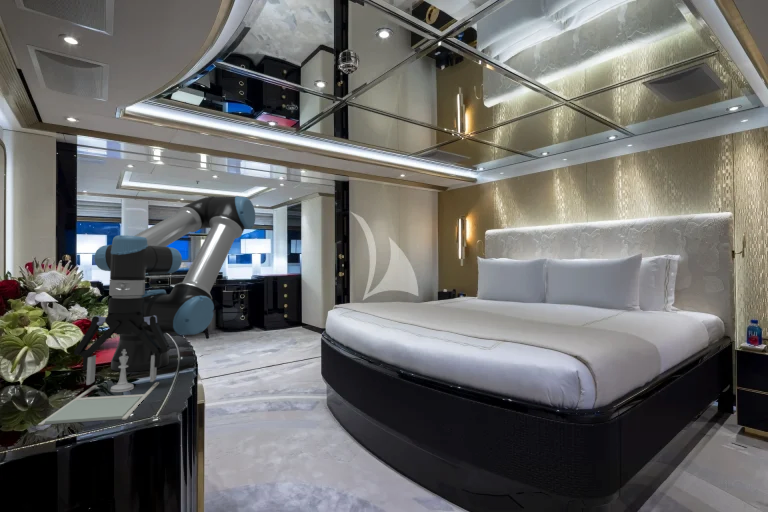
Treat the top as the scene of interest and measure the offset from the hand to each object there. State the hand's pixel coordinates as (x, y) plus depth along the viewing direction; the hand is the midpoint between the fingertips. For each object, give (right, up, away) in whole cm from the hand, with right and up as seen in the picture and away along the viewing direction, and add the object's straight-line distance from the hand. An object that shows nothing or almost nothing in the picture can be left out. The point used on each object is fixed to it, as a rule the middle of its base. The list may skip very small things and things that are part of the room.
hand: (122, 381), depth 97 cm
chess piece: (0, -2, 0) cm, 2 cm away
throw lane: (+3, -2, -9) cm, 9 cm away
